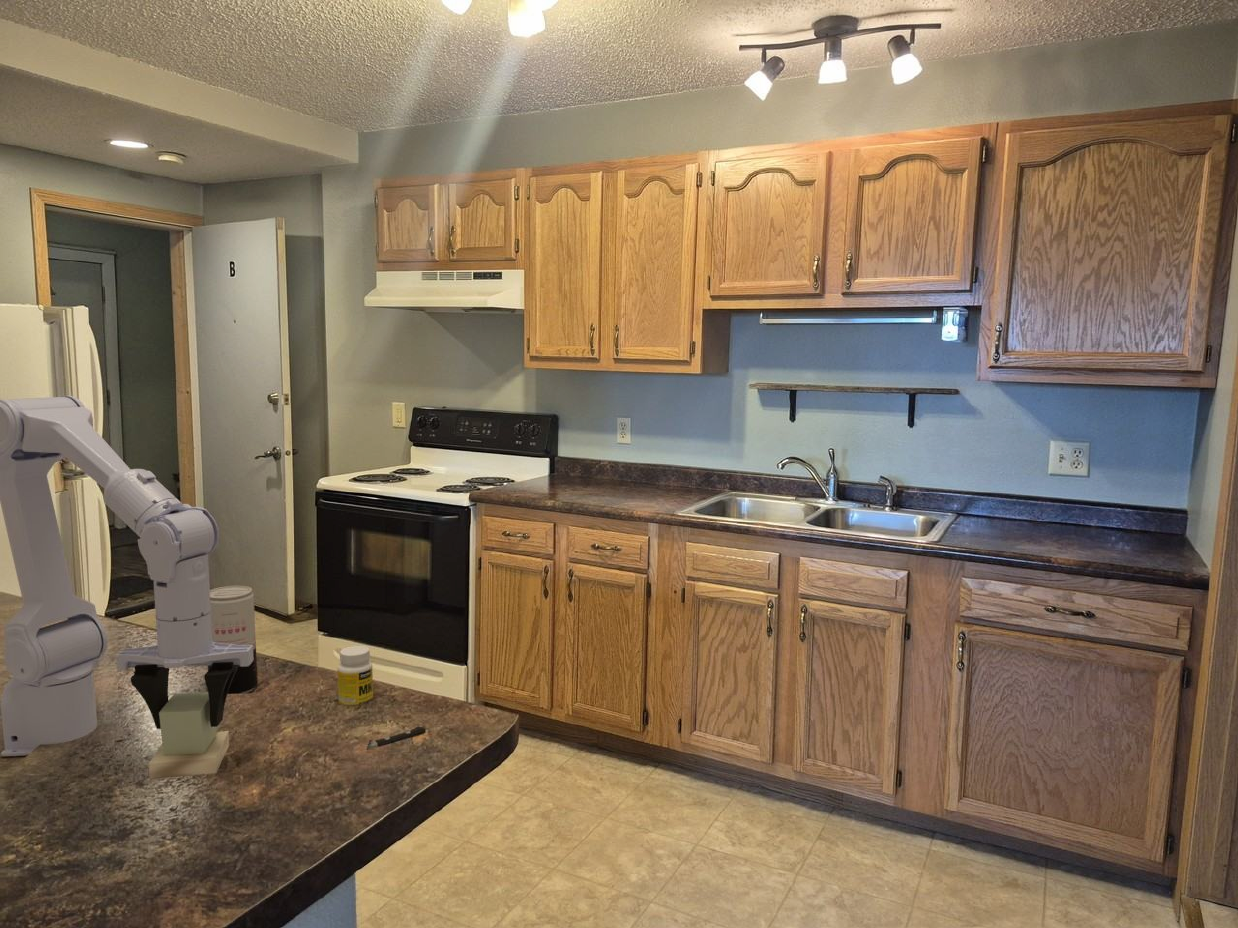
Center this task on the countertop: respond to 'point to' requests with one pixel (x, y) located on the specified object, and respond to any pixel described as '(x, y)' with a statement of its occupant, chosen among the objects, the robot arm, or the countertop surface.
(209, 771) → the tan square tile
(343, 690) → the supplement bottle
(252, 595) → the beverage can
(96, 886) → the countertop surface
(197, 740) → the green block
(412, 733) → the chef's knife
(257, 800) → the countertop surface
